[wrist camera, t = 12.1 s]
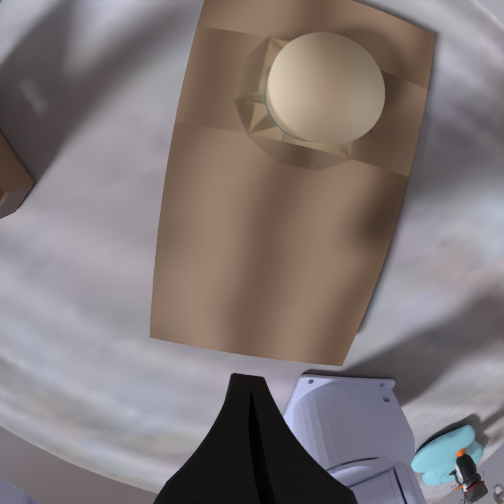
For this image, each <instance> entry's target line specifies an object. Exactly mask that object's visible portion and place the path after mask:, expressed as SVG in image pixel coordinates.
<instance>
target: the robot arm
mask: <svg viewBox="0 0 504 504" xmlns="http://www.w3.org/2000/svg"><path fill="white" fill-rule="evenodd" d="M311 379H312V380H311ZM309 380H311V381H309ZM394 386H395V381H394V380H393V379H371V378H350V377H335V376H321V375H310V374H304V375H302V376H300V378H299V380H298V382H297V385H296V387H295V390H294V392H293V395H292V397H291V399H290V402H289V404H288V406H287V409H286V411H285V413H284V416H283V417H282V415H281V413H280V411H279V409H278V407H277V406H276V404H275V402H274V399H273V397H272V395H271V393H270V391H269V388H268V386H267V383H266V381H265V379H264V377H260V376H252V375H244V374H237V373H233V374H231V377H230V381H229V385H228V389H227V393H226V398H225V401H224V404H223V406H222V409H221V411H220V413H219V415H218V417H217V419H216V420H215V422H214V424H213V426H212V428H211V429H210V431H209V432H208V434H207V436H206V437H205V439H204V440H203V441H202V443H201V444H200V446H199V447H198V448H197V450H196V451H195V452H194V453H193V455H192V456H191V457H190V458H189V459H188V460H187V462H186V463H185V464H184V465H183V466H182V467H181V468H180V469H179V470H178V471H177V472H176V473H175V474H174V475H173V476H172V477H171V478H170V479H169V480H168V481H167V482H166V484H165V485H164V487H163V488H162V490H161V491H160V493H159V494H158V496H157V497H156V499H155V501H154V503H153V504H427V503H426V501H425V498H424V496H423V493H422V491H421V488H420V486H419V483H418V481H417V478H416V476H415V473H414V471H413V469H412V467H411V463H412V461H413V458H414V452H415V442H414V436H413V433H412V430H411V428H410V426H409V424H408V422H407V419H406V417H405V415H404V413H403V411H402V409H401V407H400V405H399V403H398V401H397V399H396V397H395V395H394V393H393V391H392V389H393V387H394ZM0 504H40V503H37V502H35V501H34V500H33V498H32V497H31V496H30V495H29V494H28V493H27V492H25V491H24V490H22V489H20V488H18V487H16V486H14V485H12V484H11V483H9V482H7V481H5V480H3V479H1V478H0Z"/></svg>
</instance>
